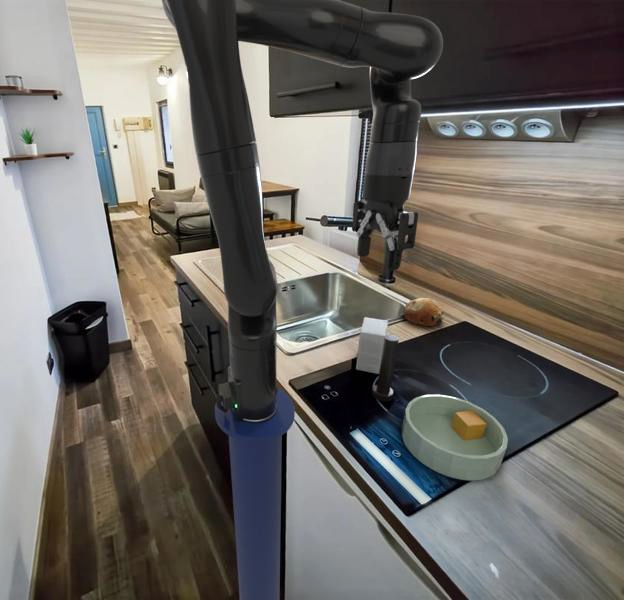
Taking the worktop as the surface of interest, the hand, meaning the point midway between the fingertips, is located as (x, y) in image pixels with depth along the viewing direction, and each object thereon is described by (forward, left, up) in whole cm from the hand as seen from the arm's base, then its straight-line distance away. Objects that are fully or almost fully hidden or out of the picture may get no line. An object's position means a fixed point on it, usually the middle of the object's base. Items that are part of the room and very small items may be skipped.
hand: (376, 262), depth 68 cm
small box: (+8, +8, -30) cm, 32 cm away
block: (+11, -17, -29) cm, 35 cm away
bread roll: (+36, +22, -30) cm, 52 cm away
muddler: (+3, -3, -30) cm, 30 cm away
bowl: (+6, -18, -30) cm, 35 cm away
